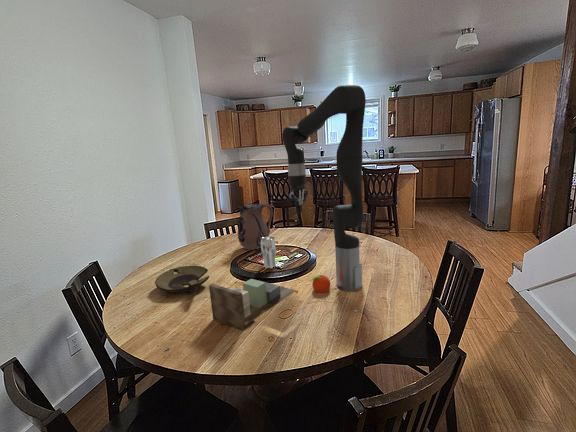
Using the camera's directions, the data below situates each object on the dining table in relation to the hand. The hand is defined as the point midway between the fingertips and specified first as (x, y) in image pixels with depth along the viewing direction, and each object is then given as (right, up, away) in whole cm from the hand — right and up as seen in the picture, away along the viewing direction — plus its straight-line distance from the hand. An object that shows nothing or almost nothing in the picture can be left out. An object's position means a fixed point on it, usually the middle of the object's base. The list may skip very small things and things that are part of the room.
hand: (299, 213), depth 141 cm
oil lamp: (-50, -33, -5) cm, 60 cm away
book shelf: (-16, -34, -24) cm, 45 cm away
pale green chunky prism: (-17, -33, -25) cm, 45 cm away
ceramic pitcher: (-23, -20, +44) cm, 53 cm away
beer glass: (-14, -27, +10) cm, 32 cm away
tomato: (+8, -31, -18) cm, 37 cm away
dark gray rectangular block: (-14, -32, -21) cm, 41 cm away
